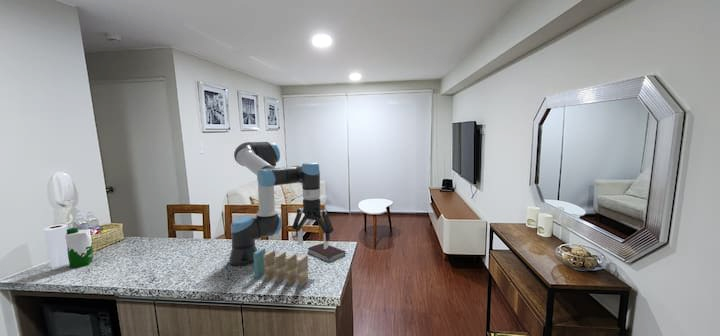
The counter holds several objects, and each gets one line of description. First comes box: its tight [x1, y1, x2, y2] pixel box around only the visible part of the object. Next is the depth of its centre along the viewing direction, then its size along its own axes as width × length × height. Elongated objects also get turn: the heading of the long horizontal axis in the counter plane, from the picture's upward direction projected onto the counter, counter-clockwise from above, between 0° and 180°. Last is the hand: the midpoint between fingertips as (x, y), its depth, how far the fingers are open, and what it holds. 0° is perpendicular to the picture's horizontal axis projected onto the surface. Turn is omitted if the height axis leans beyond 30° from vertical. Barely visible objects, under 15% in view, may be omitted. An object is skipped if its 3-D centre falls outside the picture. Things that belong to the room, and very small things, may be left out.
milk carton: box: [64, 227, 94, 269], centre depth 149 cm, size 9×9×20 cm
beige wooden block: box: [274, 251, 287, 282], centre depth 131 cm, size 2×6×12 cm, turn 160°
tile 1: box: [297, 254, 309, 287], centre depth 127 cm, size 2×6×12 cm, turn 160°
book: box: [307, 242, 347, 263], centre depth 161 cm, size 12×19×3 cm, turn 48°
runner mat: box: [249, 274, 316, 291], centre depth 131 cm, size 31×9×1 cm, turn 70°
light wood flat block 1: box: [264, 249, 276, 280], centre depth 133 cm, size 2×6×12 cm, turn 160°
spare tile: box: [253, 248, 266, 278], centre depth 135 cm, size 2×6×12 cm, turn 160°
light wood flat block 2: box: [285, 252, 298, 284], centre depth 129 cm, size 2×6×12 cm, turn 160°
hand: (313, 246), depth 123 cm, fingers open, 12 cm apart
